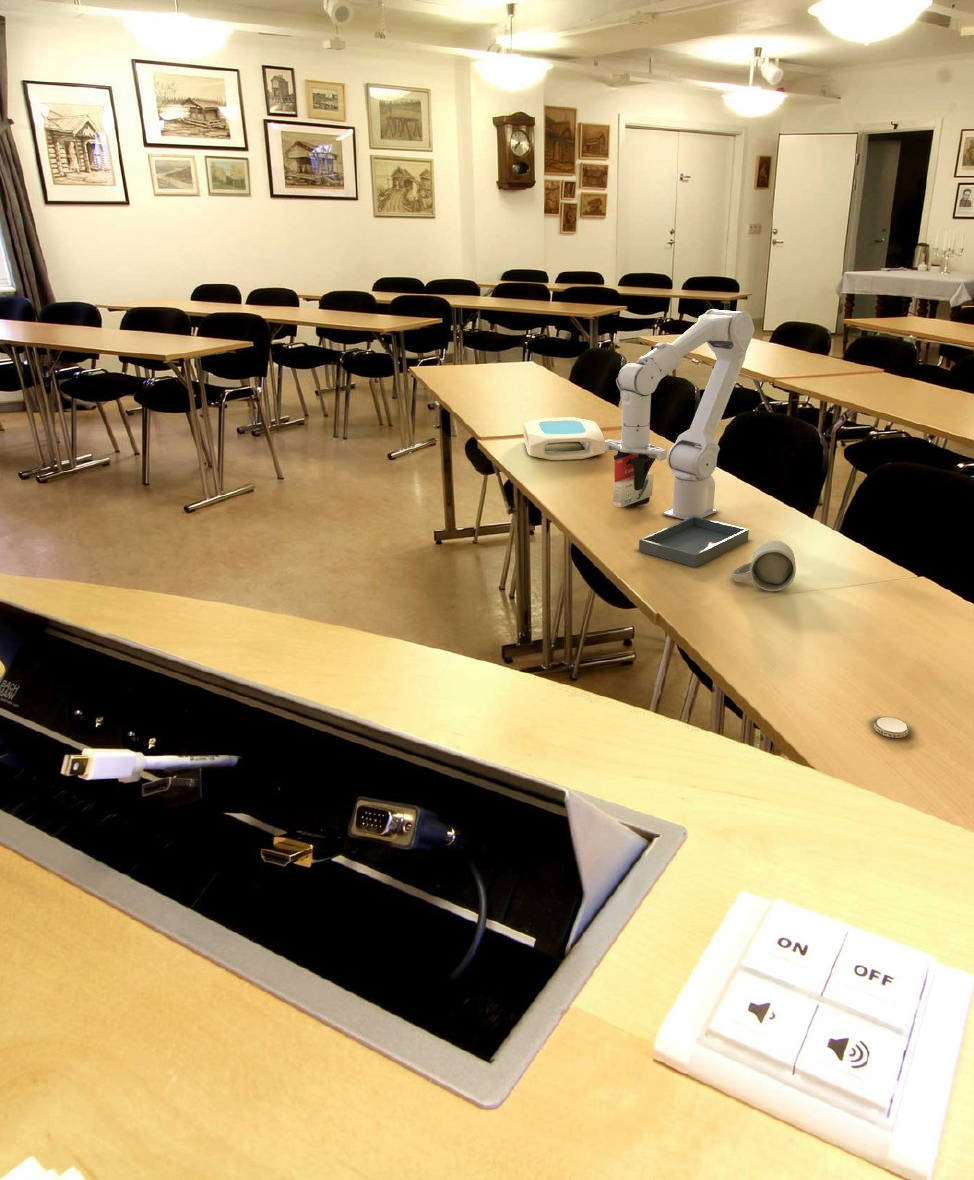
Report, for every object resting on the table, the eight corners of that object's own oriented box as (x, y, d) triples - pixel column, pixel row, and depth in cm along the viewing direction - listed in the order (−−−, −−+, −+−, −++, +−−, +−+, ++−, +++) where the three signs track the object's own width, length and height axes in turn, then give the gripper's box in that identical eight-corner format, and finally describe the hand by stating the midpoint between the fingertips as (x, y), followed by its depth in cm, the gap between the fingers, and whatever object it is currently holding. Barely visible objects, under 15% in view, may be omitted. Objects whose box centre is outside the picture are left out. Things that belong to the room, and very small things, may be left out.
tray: (692, 527, 181) (693, 515, 180) (747, 540, 172) (749, 529, 171) (638, 551, 169) (639, 539, 168) (694, 567, 160) (695, 555, 159)
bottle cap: (874, 734, 106) (875, 730, 106) (873, 718, 110) (874, 714, 110) (909, 739, 105) (910, 735, 105) (907, 723, 108) (907, 719, 108)
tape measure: (650, 507, 194) (651, 491, 192) (623, 511, 192) (624, 495, 190) (637, 499, 200) (637, 484, 198) (610, 502, 198) (611, 487, 196)
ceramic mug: (792, 576, 154) (796, 536, 151) (793, 593, 147) (797, 552, 144) (733, 572, 157) (735, 533, 154) (730, 589, 150) (733, 549, 147)
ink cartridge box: (652, 496, 181) (655, 451, 177) (621, 508, 174) (623, 462, 170) (643, 493, 182) (645, 449, 178) (611, 506, 175) (613, 460, 171)
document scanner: (590, 435, 261) (590, 415, 258) (605, 458, 235) (605, 436, 233) (523, 438, 260) (522, 418, 258) (530, 461, 235) (530, 439, 232)
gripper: (595, 422, 174) (594, 486, 179) (653, 432, 164) (650, 499, 169) (616, 417, 178) (615, 478, 184) (674, 426, 168) (670, 491, 174)
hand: (633, 488), depth 177 cm, fingers closed on ink cartridge box, 2 cm apart
